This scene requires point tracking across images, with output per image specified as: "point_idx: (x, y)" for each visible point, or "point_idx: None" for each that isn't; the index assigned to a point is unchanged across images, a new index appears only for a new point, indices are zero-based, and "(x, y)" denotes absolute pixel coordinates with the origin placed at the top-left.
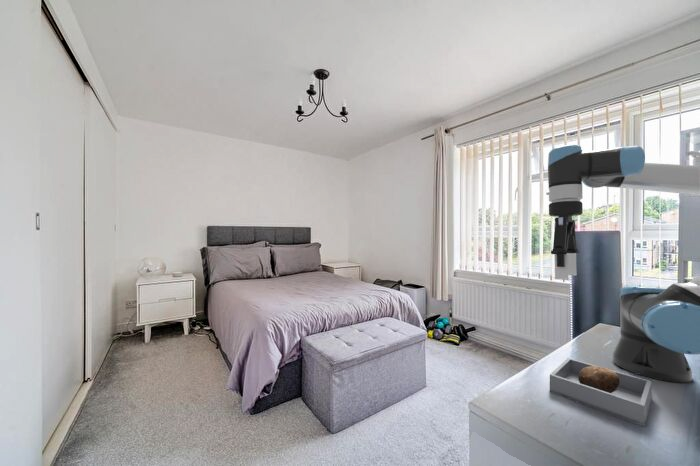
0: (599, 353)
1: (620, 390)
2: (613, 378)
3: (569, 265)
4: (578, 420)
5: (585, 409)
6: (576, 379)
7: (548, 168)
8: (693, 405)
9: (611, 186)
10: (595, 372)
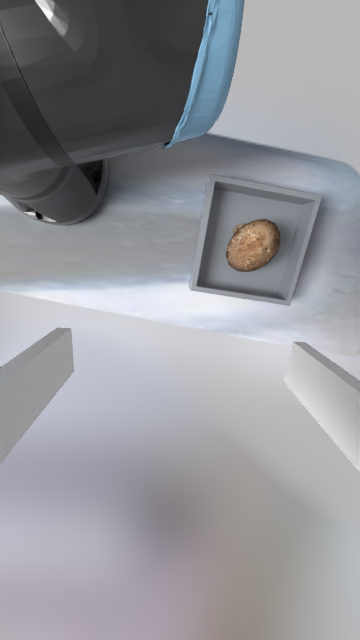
0: (32, 245)
1: (217, 220)
2: (275, 227)
3: (48, 379)
4: (335, 266)
5: None
6: (218, 274)
7: None
8: None
9: None
10: (270, 250)
